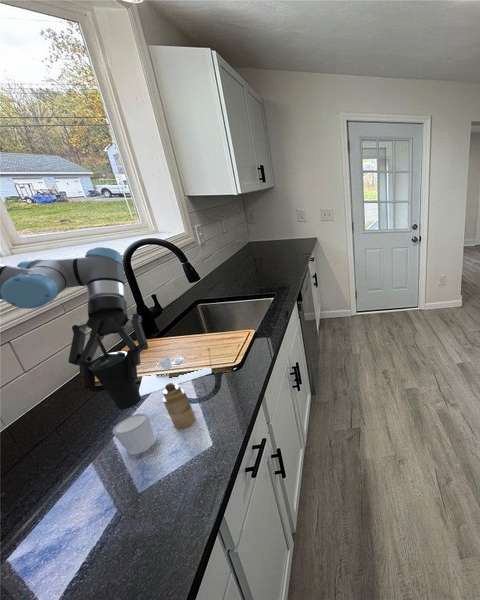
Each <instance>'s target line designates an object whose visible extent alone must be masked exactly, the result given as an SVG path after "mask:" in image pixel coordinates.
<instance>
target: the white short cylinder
mask: <svg viewBox="0 0 480 600" xmlns="http://www.w3.org/2000/svg"><path fill="white" fill-rule="evenodd" d="M112 434H113V435H114V436H115V438H116V439H117V440H118V442H119V443H120V444H121V446H122V447H123V448H124V450H126V452H127V454H128V455H132V456H134V455H138V454H141V453H145V452H146V451H147V450H149V449H150V448H151V447H153V445H154V444H155V443H156V442H157V441H156V439H157V438H156V434H155V432H154V429H153V426H152V422H151V418H150V416H149V415H148V414H147V413H136V414H133V415H130V416H128V417H126V418H124V419H122V420H120V422H117V424H116V425H115V426H114V427H113V429H112Z"/></svg>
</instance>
